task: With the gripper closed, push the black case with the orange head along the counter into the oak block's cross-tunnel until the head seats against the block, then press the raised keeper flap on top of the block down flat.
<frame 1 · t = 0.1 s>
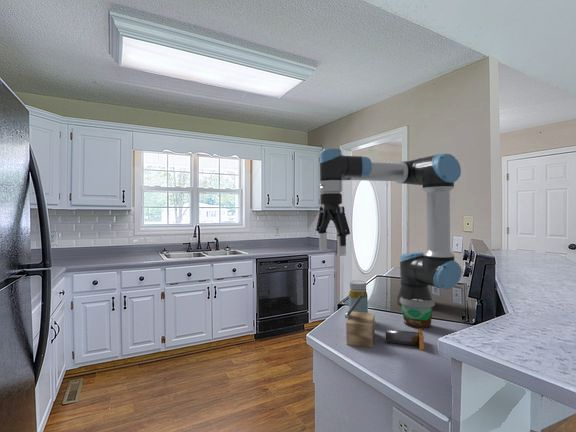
hand: (332, 253, 113), 28 cm above the counter, fingers open, 13 cm apart
food container: (417, 327, 116), on the counter
bottle: (358, 321, 123), on the counter
keeper: (354, 305, 107), point 11 cm above the counter, hinge at 55.0°
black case: (402, 343, 102), on the counter
block: (361, 338, 106), on the counter
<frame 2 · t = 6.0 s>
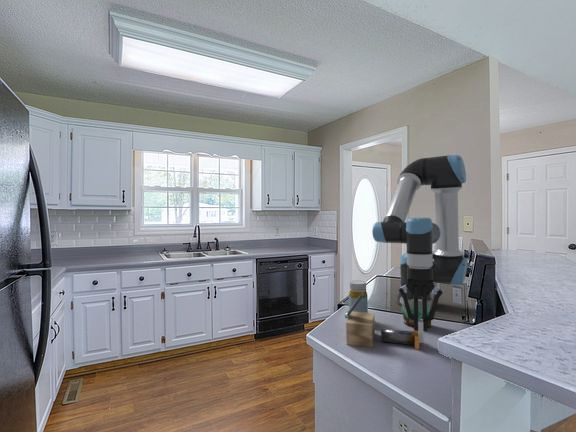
hand: (420, 340, 100), 1 cm above the counter, fingers closed
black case: (397, 342, 103), on the counter, touching gripper
everything else where it was.
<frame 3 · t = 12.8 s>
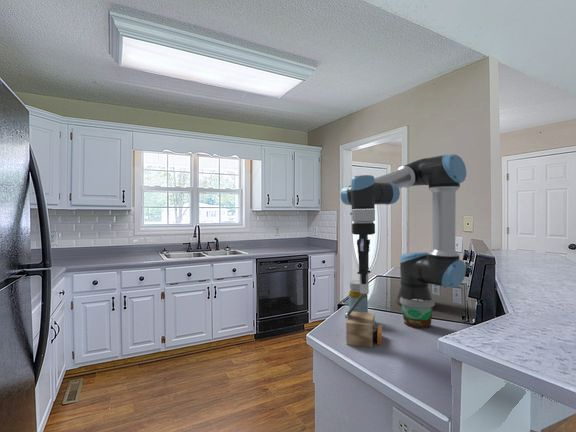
hand: (364, 293, 106), 15 cm above the counter, fingers closed
keeper: (354, 305, 107), point 11 cm above the counter, hinge at 54.0°, touching gripper
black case: (362, 338, 106), on the counter
everything else where it was.
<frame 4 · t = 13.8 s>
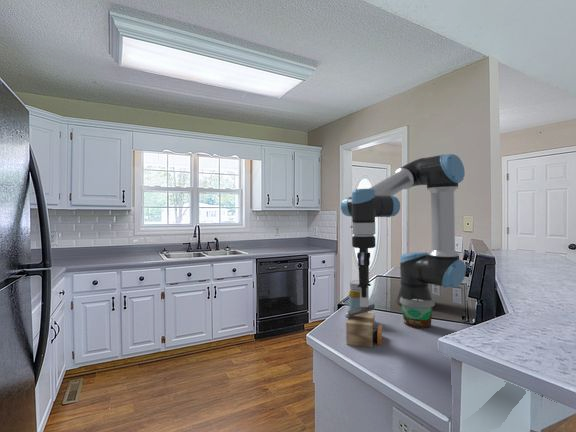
hand: (364, 306, 106), 11 cm above the counter, fingers closed
keeper: (360, 310, 106), point 9 cm above the counter, hinge at 20.6°, touching gripper
everything else where it was.
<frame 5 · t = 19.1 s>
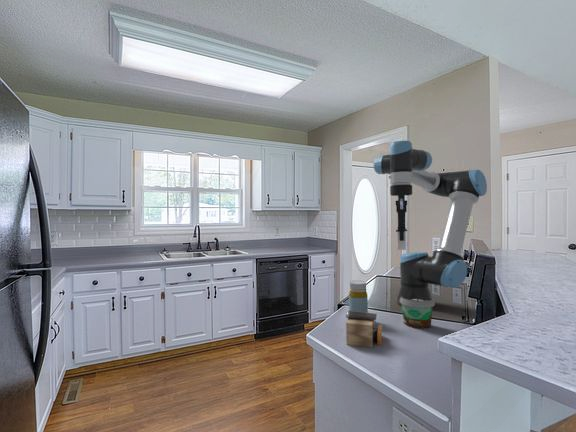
hand: (401, 249, 115), 28 cm above the counter, fingers closed
keeper: (361, 315, 106), point 8 cm above the counter, hinge at -0.9°
everything else where it was.
at the end: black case 1.4 cm off-centre on the block, point 0.0 cm above the block's base; keeper at -1° (first picture: +55°) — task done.
